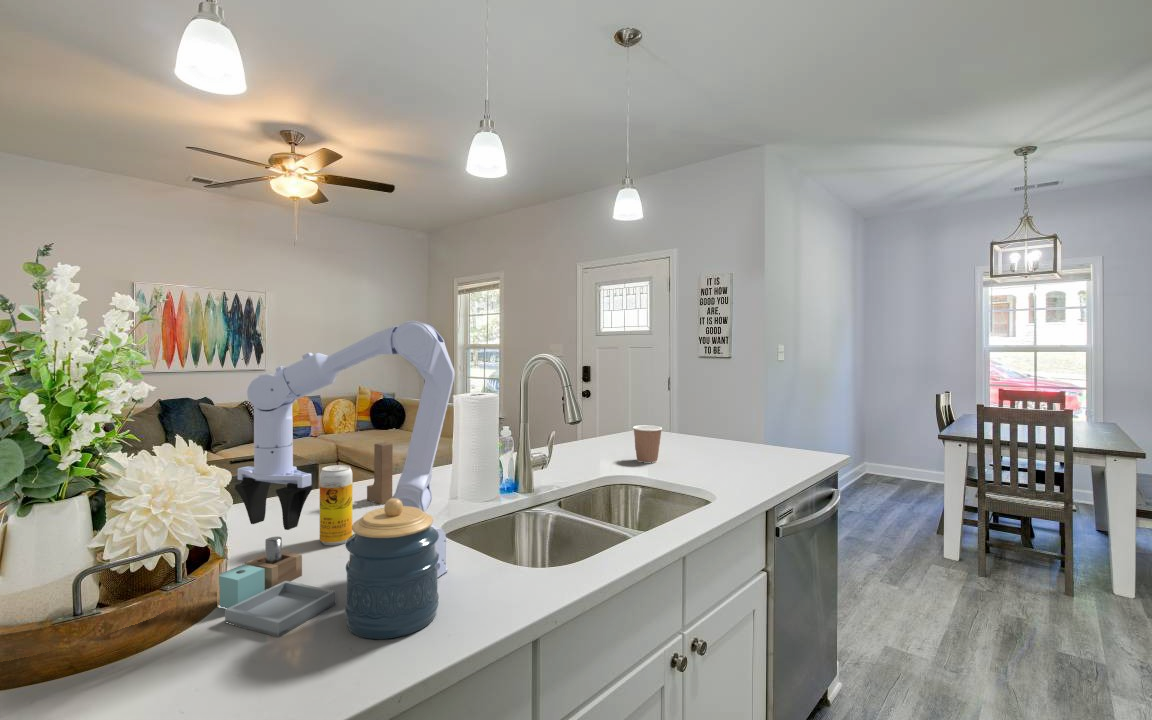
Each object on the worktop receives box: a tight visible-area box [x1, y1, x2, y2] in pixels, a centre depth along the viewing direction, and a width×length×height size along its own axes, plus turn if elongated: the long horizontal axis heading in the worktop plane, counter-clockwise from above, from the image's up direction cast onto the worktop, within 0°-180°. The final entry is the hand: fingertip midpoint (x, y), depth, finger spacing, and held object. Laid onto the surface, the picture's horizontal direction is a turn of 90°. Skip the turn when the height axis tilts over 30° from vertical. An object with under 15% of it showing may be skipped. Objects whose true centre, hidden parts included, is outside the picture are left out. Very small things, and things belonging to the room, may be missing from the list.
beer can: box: [319, 464, 353, 546], centre depth 109 cm, size 6×6×15 cm
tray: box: [224, 581, 337, 638], centre depth 80 cm, size 10×10×2 cm
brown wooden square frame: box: [244, 550, 303, 590], centre depth 91 cm, size 6×6×4 cm
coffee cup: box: [632, 424, 663, 464], centre depth 190 cm, size 10×10×12 cm
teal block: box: [219, 563, 266, 608], centre depth 83 cm, size 4×4×5 cm
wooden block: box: [366, 441, 394, 505], centre depth 138 cm, size 7×3×15 cm, turn 53°
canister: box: [344, 498, 439, 640], centre depth 79 cm, size 13×13×18 cm
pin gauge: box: [264, 536, 283, 564], centre depth 91 cm, size 2×2×7 cm
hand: (274, 525), depth 91 cm, fingers open, 7 cm apart
